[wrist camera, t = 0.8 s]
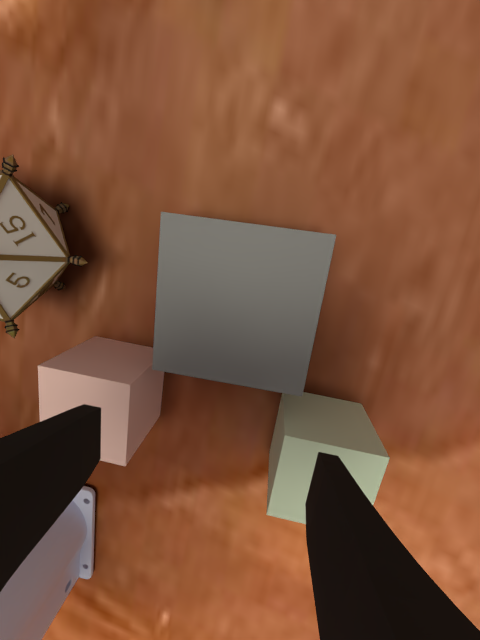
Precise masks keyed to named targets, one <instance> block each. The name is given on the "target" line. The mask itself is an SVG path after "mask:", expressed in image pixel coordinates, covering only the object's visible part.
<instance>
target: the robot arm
mask: <svg viewBox="0 0 480 640" xmlns="http://www.w3.org/2000/svg"><path fill="white" fill-rule="evenodd" d="M100 459H101V407H96V406H91V405H86V404H83V405H80V406H78V407H75V408H72V409H70V410H67V411H65V412H62V413H60V414H58V415H55V416H53V417H50V418H48V419H46V420H43V421H41V422H39V423H36V424H34V425H32V426H29V427H27V428H24V429H22V430H20V431H17V432H15V433H13V434H10V435H8V436H5V437H2V438H0V640H42V638H43V636H44V635H45V633H46V631H47V630H48V628H49V626H50V625H51V623H52V621H53V620H54V618H55V616H56V615H57V613H58V611H59V610H60V608H61V606H62V605H63V603H64V601H65V599H66V598H67V596H68V594H69V593H70V591H71V589H72V588H73V586H74V584H75V583H76V581H77V579H78V578H79V577H80V578H83V579H90V578H91V576H92V574H93V565H94V528H95V491H94V490H93V489H92V488H90V487H86V486H84V484H85V483H86V481H87V480H88V478H89V477H90V475H91V474H92V472H93V470H94V469H95V467H96V465H97V464H98V462H99V460H100ZM305 507H306V538H307V547H308V555H309V563H310V570H311V577H312V585H313V592H314V599H315V606H316V614H317V621H318V628H319V635H320V640H480V631H479V630H478V629H477V628H476V627H475V626H474V625H473V624H472V622H471V621H470V620H469V619H468V618H467V617H466V616H465V615H464V614H463V613H462V612H461V611H460V610H459V609H458V608H457V607H456V605H455V604H454V603H453V602H452V601H451V600H450V599H449V598H448V597H447V595H446V594H445V593H444V592H443V591H442V590H441V589H440V588H439V587H438V585H437V584H436V583H435V582H434V581H433V580H432V579H431V578H430V577H429V575H428V574H427V573H426V572H425V571H424V570H423V568H422V567H421V566H420V565H419V564H418V563H417V561H416V560H415V559H414V558H413V557H412V555H411V554H410V553H409V552H408V550H407V549H406V548H405V547H404V545H403V544H402V543H401V542H400V540H399V539H398V538H397V537H396V536H395V534H394V533H393V532H392V530H391V529H390V528H389V526H388V525H387V524H386V523H385V521H384V520H383V519H382V517H381V516H380V515H379V513H378V512H377V510H376V509H375V508H374V506H373V505H372V504H371V502H370V501H369V499H368V498H367V497H366V495H365V494H364V492H363V491H362V490H361V488H360V487H359V485H358V484H357V482H356V481H355V479H354V478H353V477H352V475H351V474H350V472H349V471H348V469H347V468H346V466H345V465H344V463H343V462H342V461H341V459H340V458H339V456H337V455H332V454H327V453H322V452H318V455H317V459H316V463H315V467H314V471H313V475H312V479H311V483H310V487H309V491H308V495H307V499H306V503H305Z"/></svg>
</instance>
